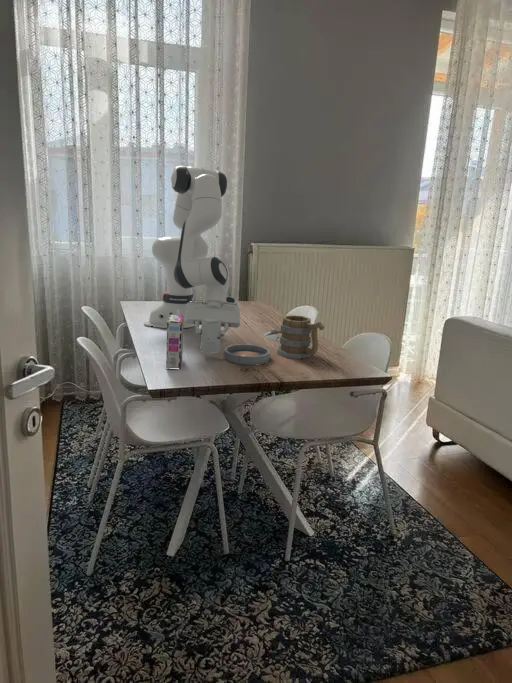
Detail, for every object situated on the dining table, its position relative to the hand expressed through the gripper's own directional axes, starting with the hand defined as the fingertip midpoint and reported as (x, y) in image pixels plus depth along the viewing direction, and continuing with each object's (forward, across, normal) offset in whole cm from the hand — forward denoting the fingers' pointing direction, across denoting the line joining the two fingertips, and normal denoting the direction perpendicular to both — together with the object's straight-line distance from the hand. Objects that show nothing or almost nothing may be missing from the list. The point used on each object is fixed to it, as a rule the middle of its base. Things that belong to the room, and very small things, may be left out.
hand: (210, 334), depth 185 cm
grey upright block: (+4, 0, +5) cm, 7 cm away
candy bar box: (+14, -11, -1) cm, 17 cm away
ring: (-20, +28, +34) cm, 49 cm away
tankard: (0, +33, +12) cm, 36 cm away
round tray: (+4, +13, +8) cm, 16 cm away
